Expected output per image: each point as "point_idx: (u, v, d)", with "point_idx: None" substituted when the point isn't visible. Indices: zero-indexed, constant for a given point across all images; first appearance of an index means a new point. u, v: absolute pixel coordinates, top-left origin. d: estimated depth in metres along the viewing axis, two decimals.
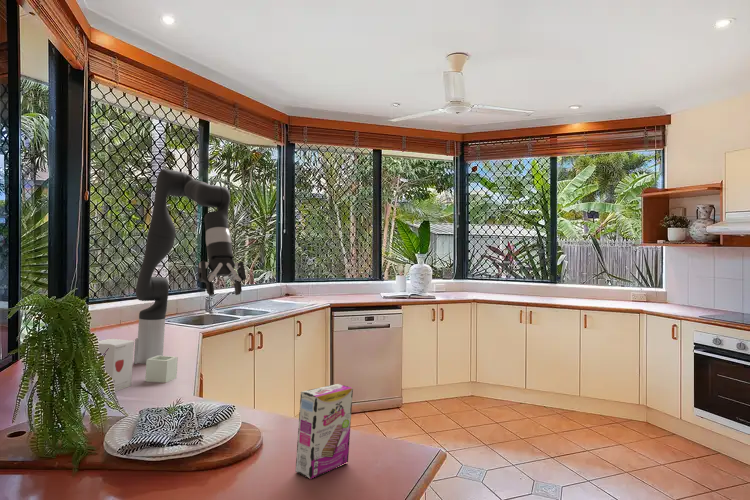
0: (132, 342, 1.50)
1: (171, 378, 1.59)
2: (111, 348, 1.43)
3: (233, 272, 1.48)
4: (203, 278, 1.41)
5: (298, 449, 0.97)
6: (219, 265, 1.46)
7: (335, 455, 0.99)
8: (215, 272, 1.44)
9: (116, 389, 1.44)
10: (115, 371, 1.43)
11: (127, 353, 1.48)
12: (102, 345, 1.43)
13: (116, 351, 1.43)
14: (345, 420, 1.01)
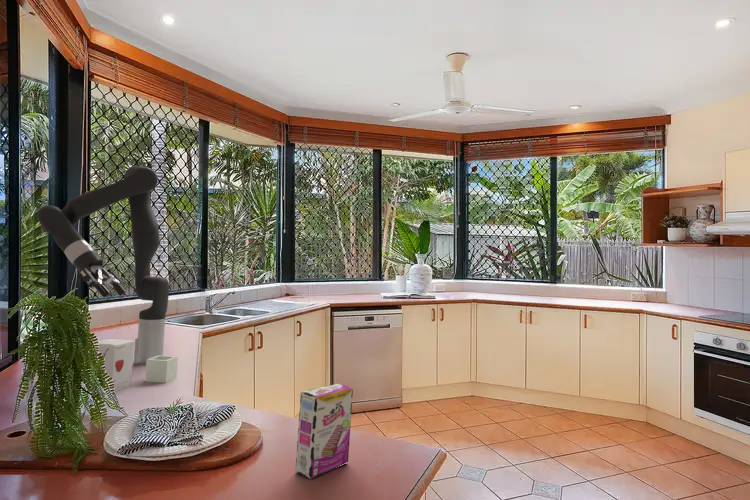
0: (132, 342, 1.50)
1: (171, 378, 1.59)
2: (111, 348, 1.43)
3: None
4: None
5: (298, 449, 0.97)
6: None
7: (335, 455, 0.99)
8: None
9: (116, 389, 1.44)
10: (115, 371, 1.43)
11: (127, 353, 1.48)
12: (102, 345, 1.43)
13: (116, 351, 1.43)
14: (345, 420, 1.01)
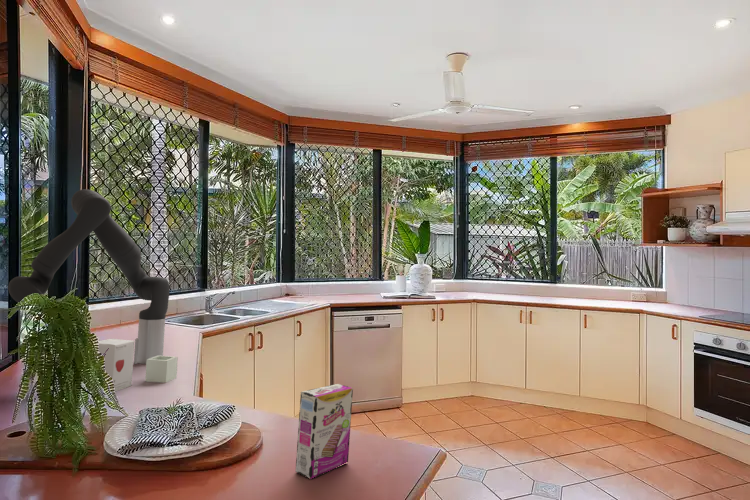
0: (132, 342, 1.50)
1: (171, 378, 1.59)
2: (111, 348, 1.43)
3: None
4: None
5: (298, 449, 0.97)
6: None
7: (335, 455, 0.99)
8: None
9: (116, 389, 1.44)
10: (115, 371, 1.43)
11: (127, 352, 1.48)
12: (102, 345, 1.43)
13: (116, 351, 1.43)
14: (345, 420, 1.01)
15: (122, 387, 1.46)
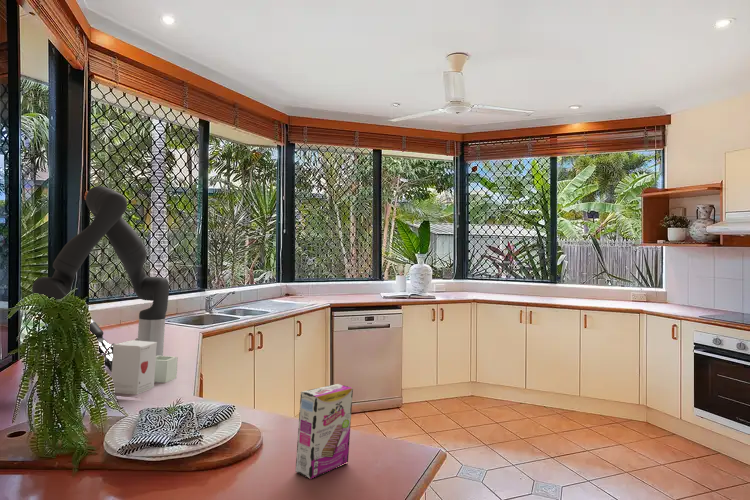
0: (155, 343, 1.50)
1: (171, 378, 1.59)
2: (137, 350, 1.42)
3: None
4: None
5: (298, 449, 0.97)
6: None
7: (335, 455, 0.99)
8: None
9: (141, 391, 1.44)
10: (140, 373, 1.43)
11: (151, 354, 1.47)
12: (127, 347, 1.42)
13: (141, 353, 1.43)
14: (345, 420, 1.01)
15: (146, 389, 1.46)
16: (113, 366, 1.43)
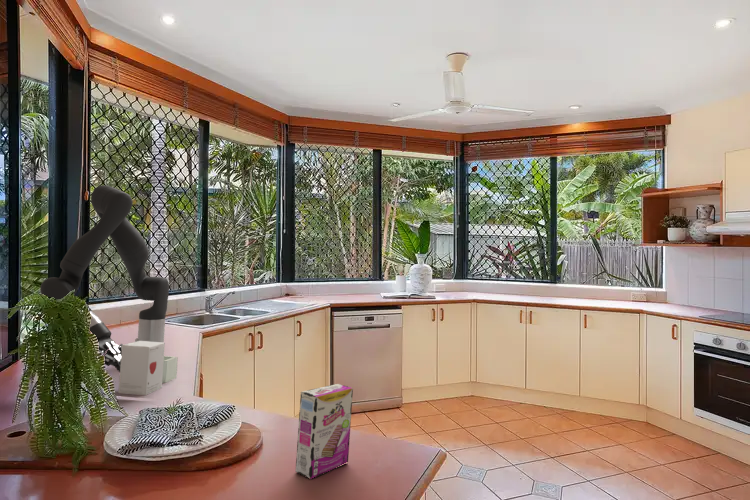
0: (163, 344, 1.50)
1: (171, 378, 1.59)
2: (146, 350, 1.42)
3: None
4: None
5: (298, 449, 0.97)
6: None
7: (335, 455, 0.99)
8: None
9: (150, 391, 1.43)
10: (149, 373, 1.43)
11: (159, 354, 1.47)
12: (136, 347, 1.42)
13: (150, 353, 1.43)
14: (345, 420, 1.01)
15: (154, 389, 1.46)
16: (121, 367, 1.42)
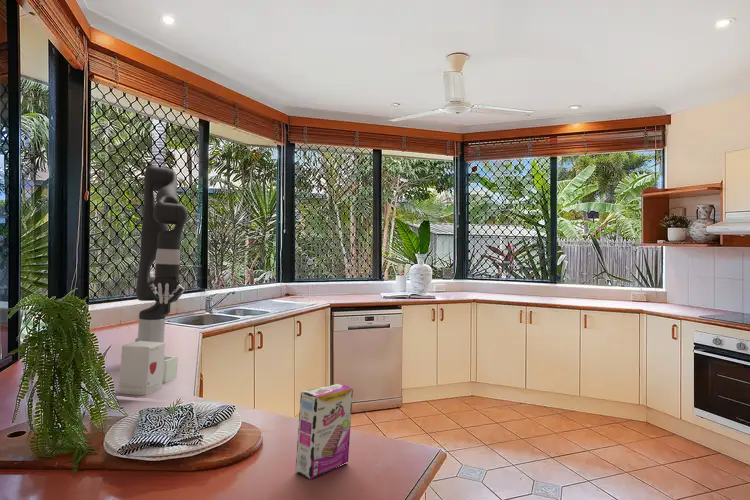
0: (163, 344, 1.50)
1: (171, 378, 1.59)
2: (146, 351, 1.42)
3: (165, 293, 1.58)
4: (156, 300, 1.59)
5: (298, 449, 0.97)
6: (159, 286, 1.58)
7: (335, 455, 0.99)
8: (160, 293, 1.59)
9: (150, 391, 1.43)
10: (149, 373, 1.43)
11: (159, 355, 1.47)
12: (136, 347, 1.42)
13: (150, 354, 1.43)
14: (345, 420, 1.01)
15: (154, 389, 1.46)
16: (122, 367, 1.42)
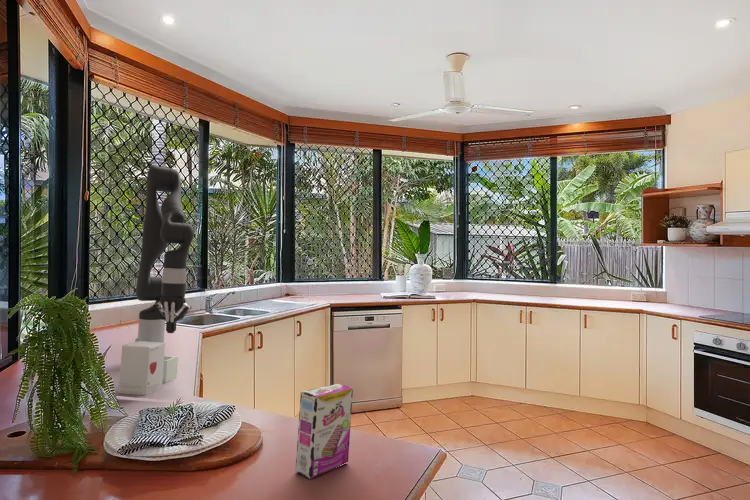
0: (163, 344, 1.50)
1: (171, 378, 1.59)
2: (146, 350, 1.42)
3: (171, 311, 1.61)
4: (162, 318, 1.62)
5: (298, 449, 0.97)
6: (165, 304, 1.61)
7: (335, 455, 0.99)
8: (166, 312, 1.61)
9: (150, 391, 1.43)
10: (149, 373, 1.43)
11: (159, 355, 1.47)
12: (136, 347, 1.42)
13: (150, 354, 1.43)
14: (345, 420, 1.01)
15: (154, 389, 1.46)
16: (122, 367, 1.42)
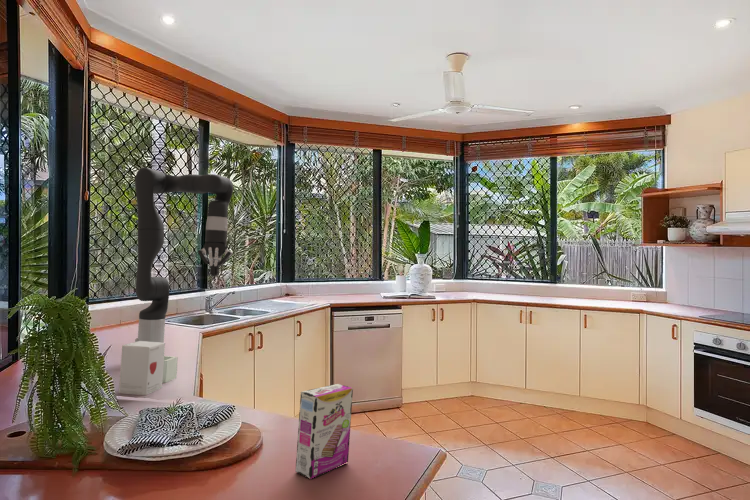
0: (163, 344, 1.50)
1: (171, 378, 1.59)
2: (146, 351, 1.42)
3: (215, 256, 1.76)
4: (206, 263, 1.77)
5: (298, 449, 0.97)
6: (209, 250, 1.76)
7: (335, 455, 0.99)
8: (210, 257, 1.76)
9: (150, 391, 1.43)
10: (149, 373, 1.43)
11: (159, 355, 1.47)
12: (136, 347, 1.42)
13: (150, 354, 1.43)
14: (345, 420, 1.01)
15: (154, 389, 1.46)
16: (122, 367, 1.42)
